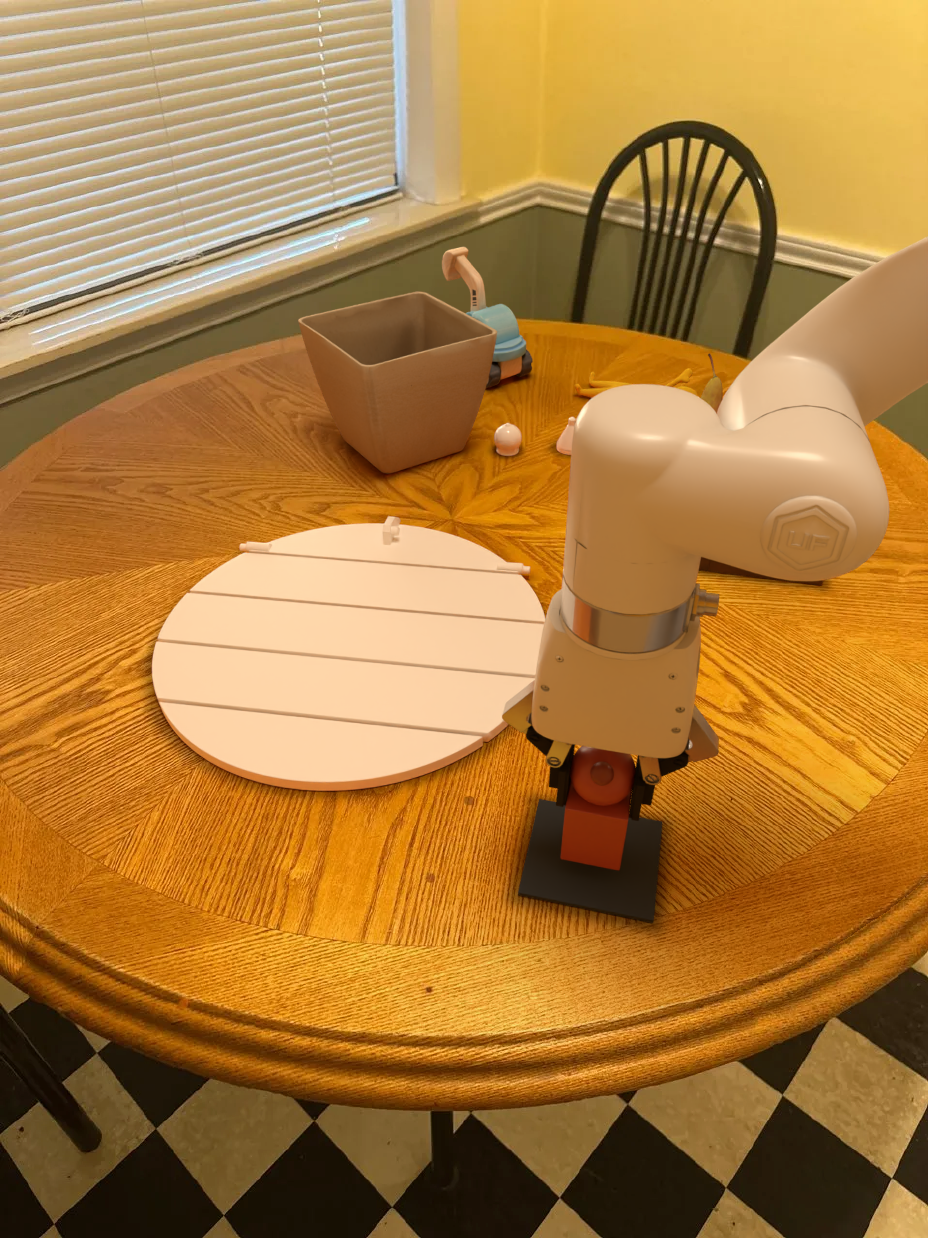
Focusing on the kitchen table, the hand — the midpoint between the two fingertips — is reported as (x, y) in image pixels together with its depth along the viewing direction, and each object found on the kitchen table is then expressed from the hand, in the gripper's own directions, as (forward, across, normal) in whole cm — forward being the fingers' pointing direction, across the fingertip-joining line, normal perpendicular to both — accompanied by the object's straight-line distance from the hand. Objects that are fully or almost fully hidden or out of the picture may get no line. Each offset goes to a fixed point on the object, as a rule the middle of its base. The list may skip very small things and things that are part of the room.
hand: (599, 796), depth 62 cm
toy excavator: (+8, +29, -88) cm, 93 cm away
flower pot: (+8, +34, -61) cm, 70 cm away
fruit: (+8, -6, -69) cm, 70 cm away
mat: (+8, 0, 0) cm, 8 cm away
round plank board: (+8, +27, -21) cm, 35 cm away
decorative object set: (+8, +12, -65) cm, 67 cm away
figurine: (+8, +4, -80) cm, 80 cm away
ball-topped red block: (+5, 0, 0) cm, 5 cm away
